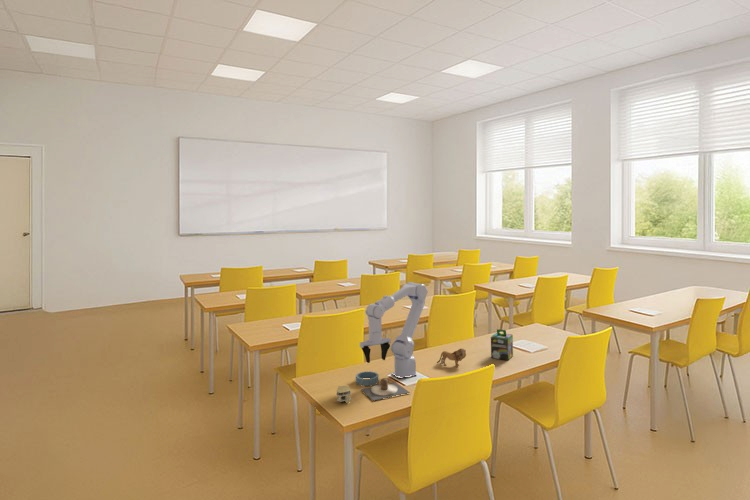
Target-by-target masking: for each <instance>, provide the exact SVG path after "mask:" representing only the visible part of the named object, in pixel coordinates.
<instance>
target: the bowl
mask: <svg viewBox="0 0 750 500" xmlns="http://www.w3.org/2000/svg"><path fill="white" fill-rule="evenodd" d="M379 375H380V374H379V373H377V372H376V371H371V370H369V371H367V370H366V371H360V372H359V373H356V375H355V384H357V385H359V386H361V385H362V386H363V387H371V386H370V385H372V386H375V385H377V384H379V381H380V379H379ZM363 378H370V379H363ZM376 383H377V384H376ZM362 386H361V387H362Z"/></svg>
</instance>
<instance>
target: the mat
mask: <svg viewBox="0 0 750 500" xmlns="http://www.w3.org/2000/svg"><path fill="white" fill-rule="evenodd" d="M389 384H391V385H395V386H396V387H397V388H398V391H397V393H395V394H393V395H389V396H379V395H375V394H373V393H372V392H371V388H372V387H373V386H368V387H365V388H361V389H360V392H362V393H363V392H364V393H365V394H366V395H367V396H368V397H369V398H368V397H367V396H366V395H365V394H364V393H363V394H364V395H365V396H366V397H367V398H368V399H370V400H371V399H372V400H373V401H374V400H379V399H383V398H388V397H392V396H396V395H401V394H407V393H410V394H411V392H410V391H408V390H407V389H406V388H404V387H403V386H401V385H400V384H399V383H398V382H390V383H389ZM407 395H408V394H407ZM388 399H389V398H388ZM372 400H371V401H372ZM373 401H372V402H373ZM379 401H380V400H379ZM374 402H375V401H374Z"/></svg>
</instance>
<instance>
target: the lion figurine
mask: <svg viewBox="0 0 750 500" xmlns="http://www.w3.org/2000/svg"><path fill="white" fill-rule="evenodd" d="M466 356H467V353H466V349H464V348H463V347H461V348H459V349H458V350H455V351H453V352H450V351H448V350H443V351H442V352H441V354H440V357H439V360H438V361H437V362H436V363H437V364H438V363H440V362H441V363H442V364H443V365H444V366H445V367H446V366H447V364H446V360H447V359H448V360H450V361H454V363H455V367H456V368H457V367H458V368H459V367H460V364H459V362H461V361H463V359H465V358H466Z"/></svg>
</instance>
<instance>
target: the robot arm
mask: <svg viewBox="0 0 750 500" xmlns="http://www.w3.org/2000/svg"><path fill="white" fill-rule="evenodd" d="M427 295H428V289H427V286H426V285H425V284H424V283H418V282H417V283H416V282H412V281H408V282H406V283H404V284H403V285H402V287H401V288H400V289H398V290H397V291H395V292H394V293H393V294H391V295H389V294H388V295H383V296H382V298H380V299H379V300H376V301H375V303H370V304H368V305H367V306H366V309H365V315H366V316H367V320H368V340H364V341H362V342H359V347H360V348H361V350H362V352H363V354H364V358H365V361H366V363H367V364H369V363H370V362H371V348H370V347H372V346H379V345H380V350H381V352H380V353H381V354H380V355H381V356H380V357H381V359H382V361H385V360H386V358H387V353H388V350H389V349H390V351H391V353H392V354H393V357H394V372H391V373H392V374H395V375H396V376H400V377H405V376H410V375H412V376H413V377H415V376H414V375H417V371H416V370H417V368H416V363H417V362H416V358H415V357H414V355H413V354H414V347H415V341H414V340H413V337H414V334H415V331H416V328H417V325H418V324H419V320H420V319H421V318H420V317H421V315H422V312H423V310H424V306H425V303H426V297H427ZM405 297H407V298H408V299H409V300H410V302H411V307H410V309H409V311H408V314H407V317H406V320H405V322H404V325H403V328H402V330H401V333H400V335H398V336H396V337H395V340H394V341H393V342H392V340H391V339H392V338H389V337H386V338H385V337H384V338H383V337H382V336H383V335H382V331H383V330H382V327H383V326H382V325H383V324H382V318H383V316H384V314H385V313H386V312H387V311H388V310H390V309H392V308H393V307H395V303H397V302H398V301H399V300H401V299H403V298H405ZM391 343H392V344H391ZM390 344H391V345H390ZM392 374H391V375H392Z"/></svg>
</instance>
